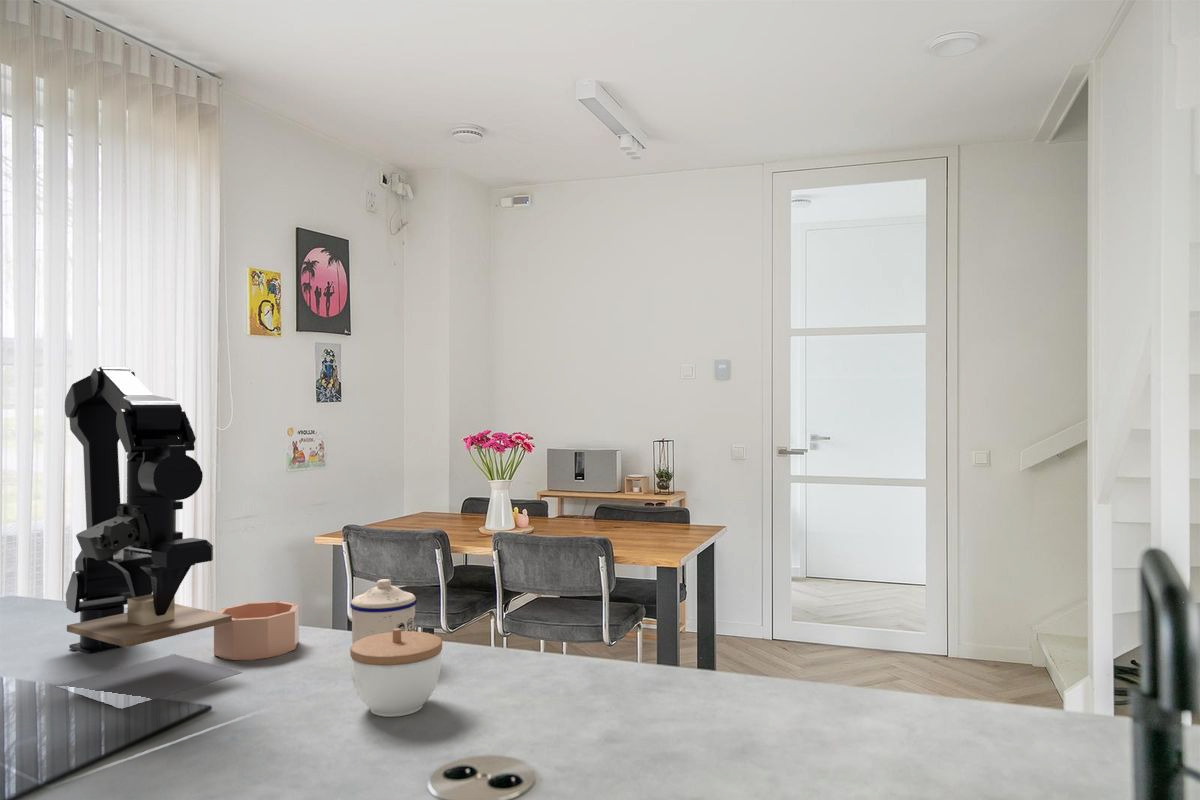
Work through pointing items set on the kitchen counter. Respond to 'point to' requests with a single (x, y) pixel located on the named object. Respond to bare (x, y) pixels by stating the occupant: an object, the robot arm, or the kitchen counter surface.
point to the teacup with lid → (382, 611)
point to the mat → (155, 677)
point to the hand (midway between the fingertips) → (151, 613)
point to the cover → (147, 623)
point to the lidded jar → (396, 671)
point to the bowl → (257, 630)
